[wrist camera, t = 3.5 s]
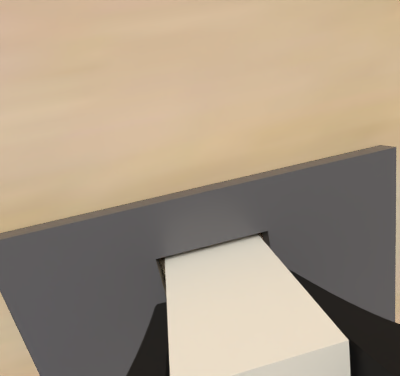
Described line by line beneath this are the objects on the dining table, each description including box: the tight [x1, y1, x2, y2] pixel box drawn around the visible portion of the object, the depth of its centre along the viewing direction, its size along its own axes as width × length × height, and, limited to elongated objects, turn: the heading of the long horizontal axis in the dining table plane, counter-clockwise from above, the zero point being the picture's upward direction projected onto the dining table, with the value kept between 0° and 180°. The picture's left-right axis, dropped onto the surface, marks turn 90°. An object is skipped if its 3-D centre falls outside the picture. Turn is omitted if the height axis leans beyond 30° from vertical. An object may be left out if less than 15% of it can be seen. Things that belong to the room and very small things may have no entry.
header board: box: [0, 145, 396, 376], centre depth 12 cm, size 16×9×1 cm, turn 101°
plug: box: [165, 234, 351, 376], centre depth 9 cm, size 4×4×6 cm
